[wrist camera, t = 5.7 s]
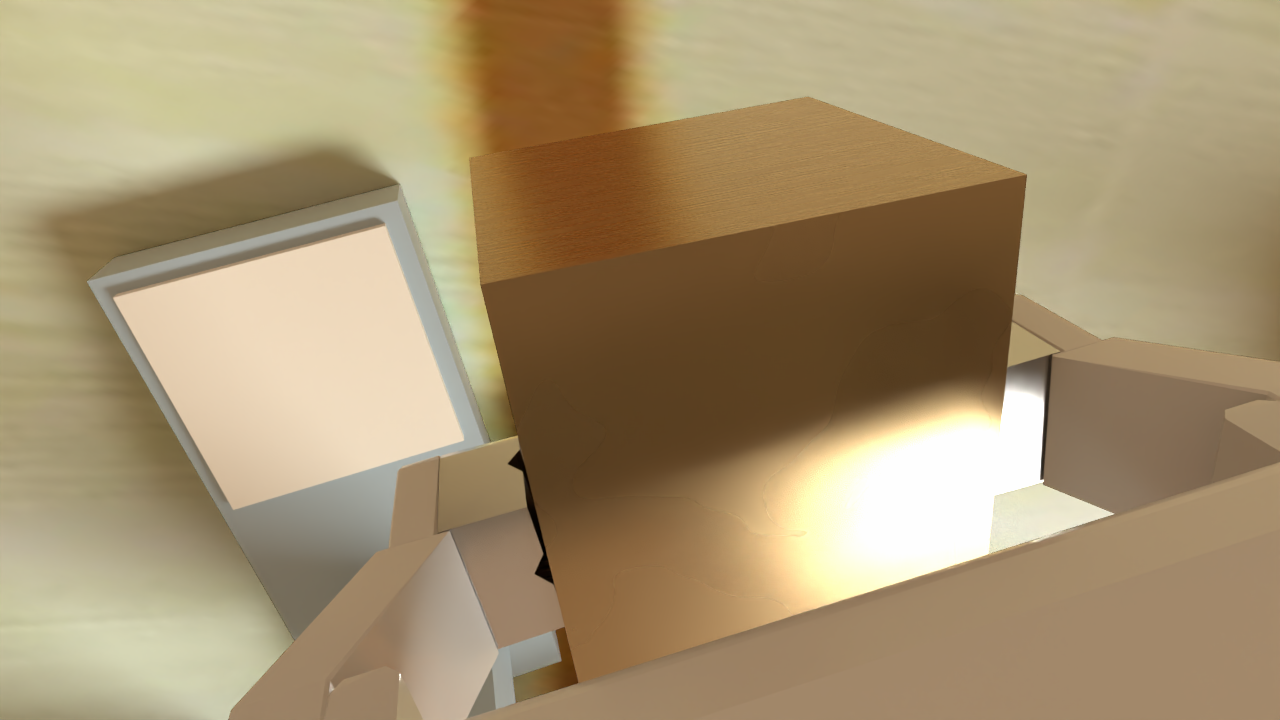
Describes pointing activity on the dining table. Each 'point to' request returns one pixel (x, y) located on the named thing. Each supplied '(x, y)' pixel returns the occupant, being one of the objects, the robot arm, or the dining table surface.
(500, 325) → the block
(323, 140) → the dining table surface
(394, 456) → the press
